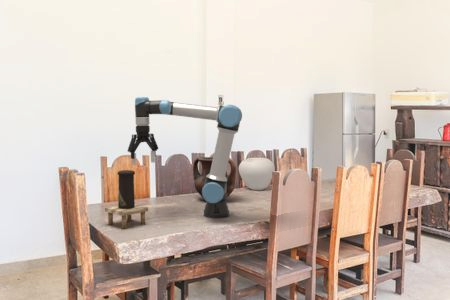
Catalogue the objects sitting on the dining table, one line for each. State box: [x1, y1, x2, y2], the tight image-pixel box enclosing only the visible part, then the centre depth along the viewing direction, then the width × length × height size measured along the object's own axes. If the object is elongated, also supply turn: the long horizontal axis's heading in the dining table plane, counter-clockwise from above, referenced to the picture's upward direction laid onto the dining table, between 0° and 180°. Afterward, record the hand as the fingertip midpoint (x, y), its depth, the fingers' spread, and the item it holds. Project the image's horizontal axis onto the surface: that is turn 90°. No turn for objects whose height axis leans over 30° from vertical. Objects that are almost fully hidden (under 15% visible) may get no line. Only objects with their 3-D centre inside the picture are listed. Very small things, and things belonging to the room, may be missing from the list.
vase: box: [238, 157, 276, 191], centre depth 347 cm, size 28×27×25 cm
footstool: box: [104, 204, 149, 230], centre depth 234 cm, size 16×16×9 cm
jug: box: [192, 156, 237, 203], centre depth 301 cm, size 32×28×30 cm
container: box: [117, 169, 136, 209], centre depth 232 cm, size 9×9×20 cm
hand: (143, 163), depth 244 cm, fingers open, 13 cm apart
